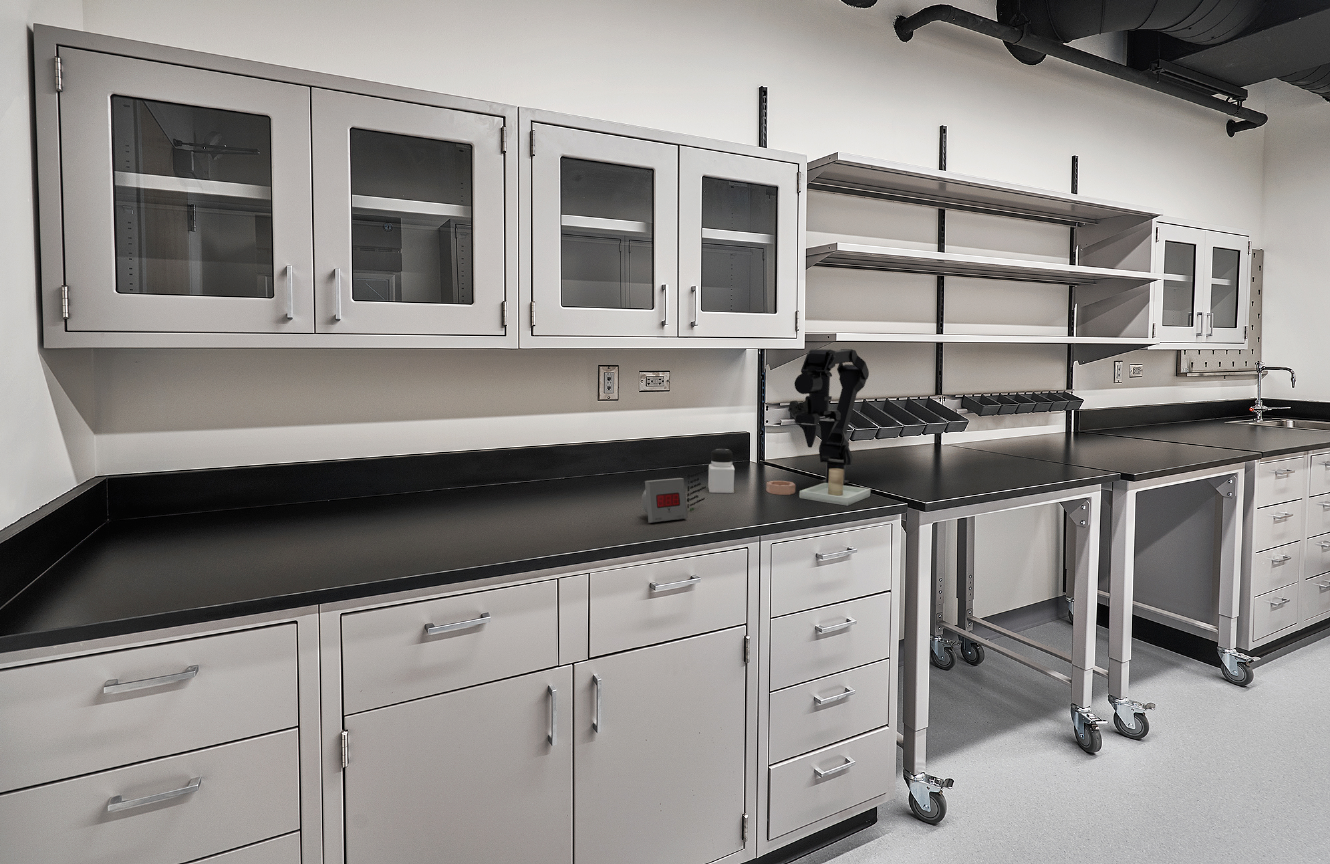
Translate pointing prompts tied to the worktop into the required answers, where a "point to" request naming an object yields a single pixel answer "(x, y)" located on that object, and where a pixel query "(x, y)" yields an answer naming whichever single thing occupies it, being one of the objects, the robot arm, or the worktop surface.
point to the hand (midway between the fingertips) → (816, 445)
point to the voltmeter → (668, 499)
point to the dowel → (835, 482)
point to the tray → (822, 495)
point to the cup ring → (780, 487)
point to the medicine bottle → (721, 472)
